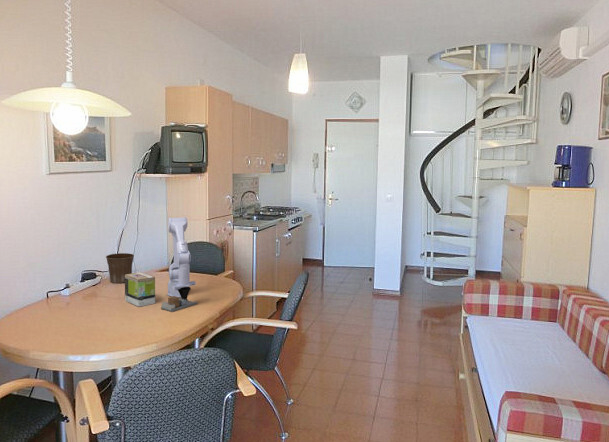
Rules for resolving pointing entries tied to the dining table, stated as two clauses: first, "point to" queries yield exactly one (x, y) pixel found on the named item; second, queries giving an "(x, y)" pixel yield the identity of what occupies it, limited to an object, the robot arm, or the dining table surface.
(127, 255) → the plant pot
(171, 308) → the vise
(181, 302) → the block
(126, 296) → the tea box
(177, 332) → the dining table surface
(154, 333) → the dining table surface
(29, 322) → the dining table surface
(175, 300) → the block
